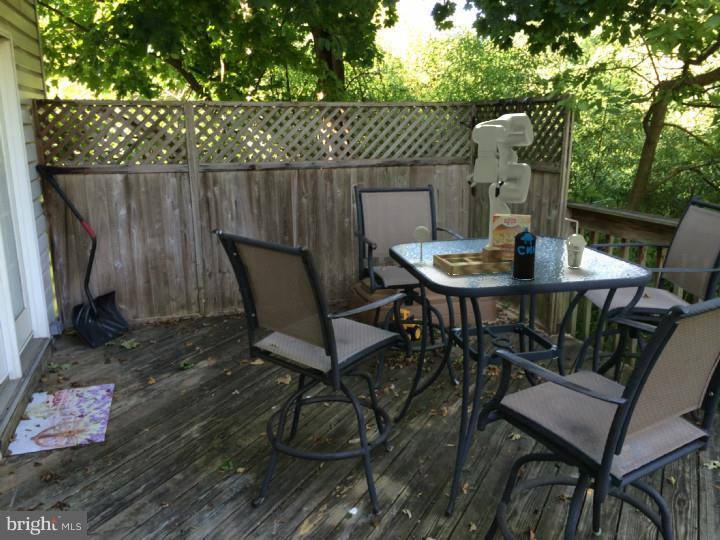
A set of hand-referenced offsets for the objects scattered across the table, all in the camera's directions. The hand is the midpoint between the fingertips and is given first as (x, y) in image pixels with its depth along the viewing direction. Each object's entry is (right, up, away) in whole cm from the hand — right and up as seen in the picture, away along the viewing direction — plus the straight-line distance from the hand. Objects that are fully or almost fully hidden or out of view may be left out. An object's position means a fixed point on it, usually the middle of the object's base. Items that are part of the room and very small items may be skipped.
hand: (485, 196), depth 246 cm
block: (+1, -28, -10) cm, 30 cm away
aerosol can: (+9, -34, -25) cm, 43 cm away
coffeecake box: (+13, -27, +9) cm, 31 cm away
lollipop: (-26, -27, +10) cm, 39 cm away
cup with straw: (+34, -30, -8) cm, 46 cm away
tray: (-7, -30, -7) cm, 32 cm away
